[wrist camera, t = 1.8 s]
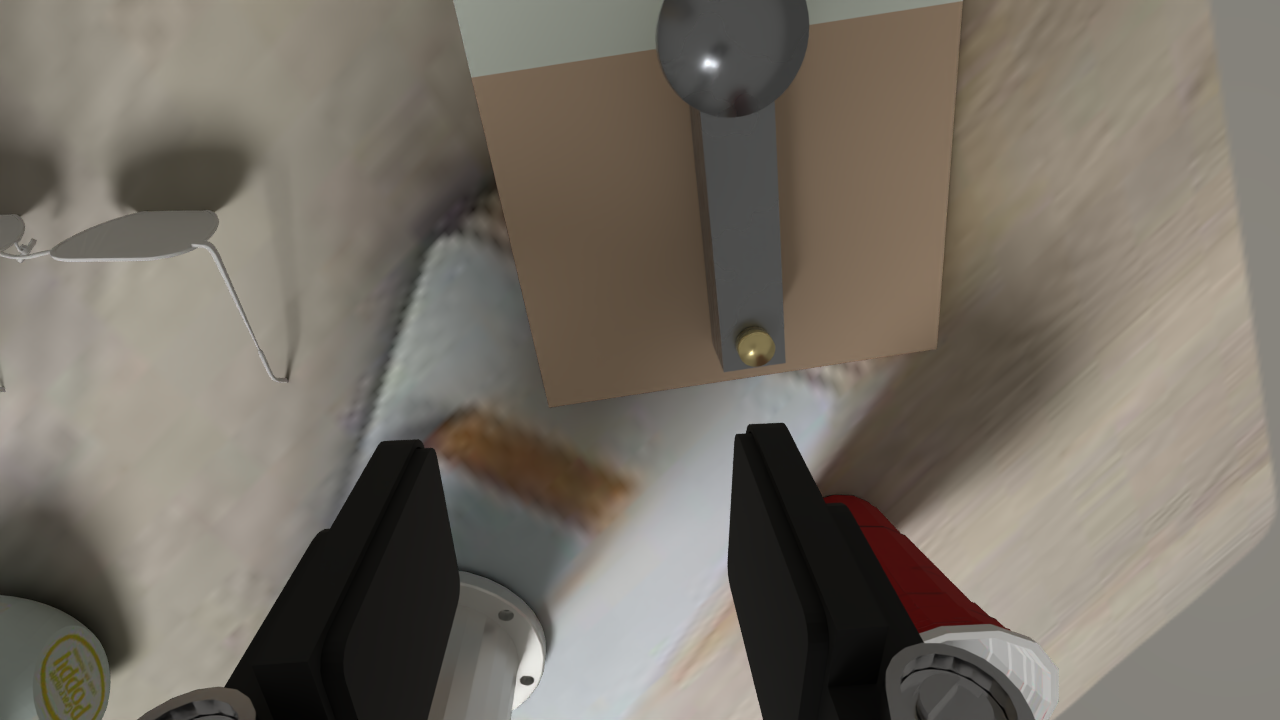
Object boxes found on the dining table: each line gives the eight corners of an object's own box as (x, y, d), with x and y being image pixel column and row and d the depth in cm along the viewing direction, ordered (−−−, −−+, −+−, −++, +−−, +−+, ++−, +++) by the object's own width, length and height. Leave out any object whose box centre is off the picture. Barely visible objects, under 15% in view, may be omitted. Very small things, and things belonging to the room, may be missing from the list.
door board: (916, 331, 30) (969, 376, 26) (551, 387, 31) (544, 440, 26) (968, -538, 18) (1081, -722, 14) (362, -439, 18) (290, -591, 14)
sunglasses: (255, 204, 27) (192, 255, 22) (314, 365, 31) (271, 432, 27) (-89, 211, 26) (-218, 265, 22) (25, 374, 31) (-63, 444, 27)
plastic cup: (921, 591, 38) (1048, 801, 27) (745, 613, 38) (803, 832, 27) (939, 442, 33) (1102, 624, 23) (738, 467, 33) (805, 662, 23)
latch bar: (794, 331, 28) (819, 366, 24) (686, 347, 28) (698, 384, 24) (781, -51, 21) (812, -70, 18) (642, -29, 21) (649, -44, 18)
